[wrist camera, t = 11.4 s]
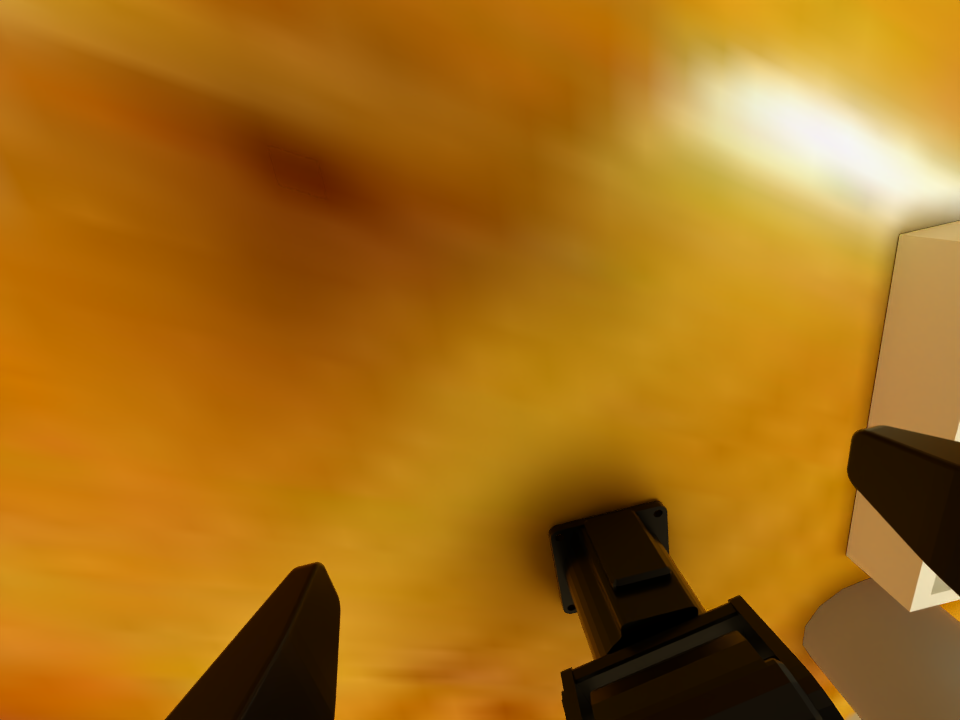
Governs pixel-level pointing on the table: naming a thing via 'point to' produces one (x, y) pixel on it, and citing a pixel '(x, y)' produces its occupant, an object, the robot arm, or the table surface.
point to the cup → (887, 655)
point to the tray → (914, 397)
